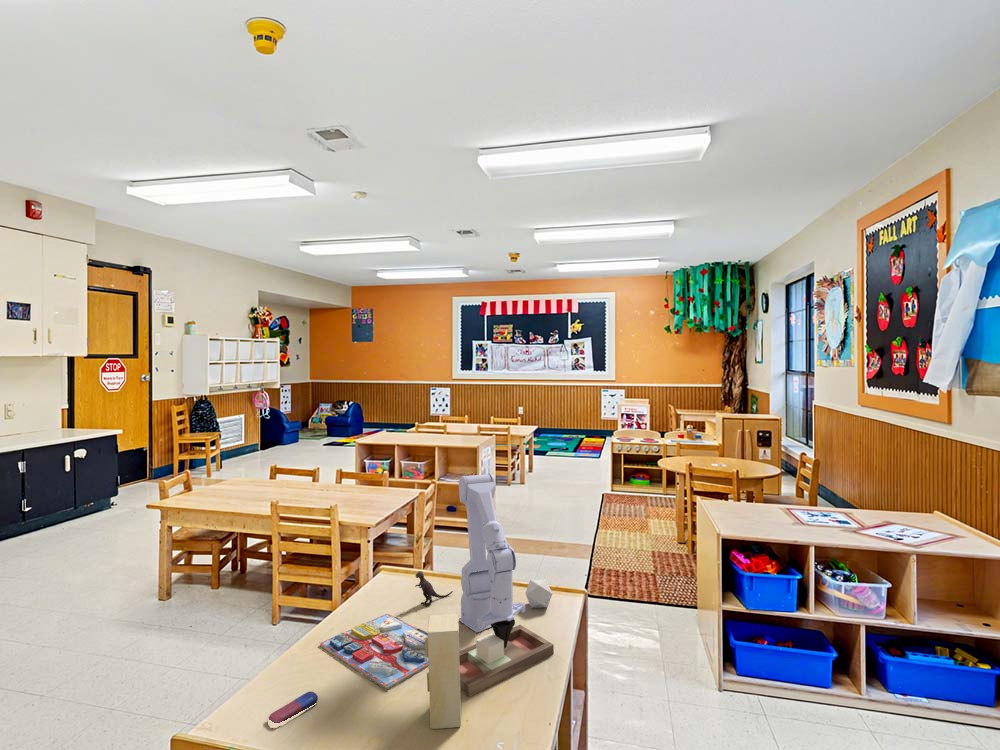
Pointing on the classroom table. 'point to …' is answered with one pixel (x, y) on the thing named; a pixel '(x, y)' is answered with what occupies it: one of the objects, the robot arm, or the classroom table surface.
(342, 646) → the puzzle board
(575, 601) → the classroom table surface
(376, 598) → the classroom table surface
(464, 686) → the tray
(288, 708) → the eraser
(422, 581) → the dinosaur model
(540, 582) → the die
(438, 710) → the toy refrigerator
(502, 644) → the block
